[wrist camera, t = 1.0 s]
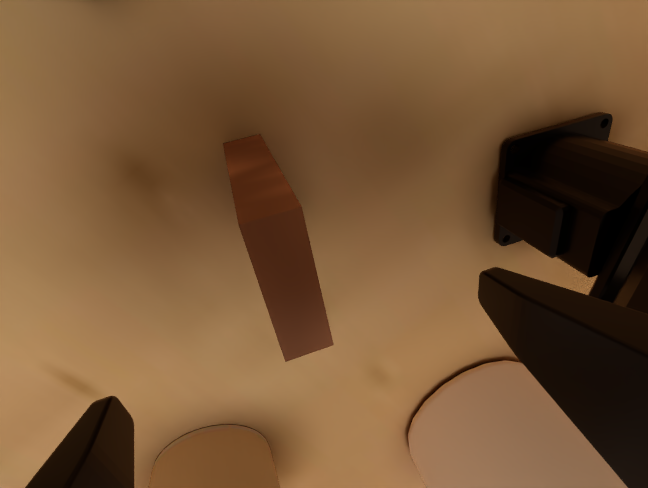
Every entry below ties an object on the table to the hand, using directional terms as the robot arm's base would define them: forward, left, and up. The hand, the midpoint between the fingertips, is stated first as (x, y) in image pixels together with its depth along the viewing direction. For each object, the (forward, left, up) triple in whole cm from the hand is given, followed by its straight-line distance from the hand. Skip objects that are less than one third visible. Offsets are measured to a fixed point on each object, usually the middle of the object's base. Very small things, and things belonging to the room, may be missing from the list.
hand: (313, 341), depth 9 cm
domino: (0, 0, -10) cm, 10 cm away
